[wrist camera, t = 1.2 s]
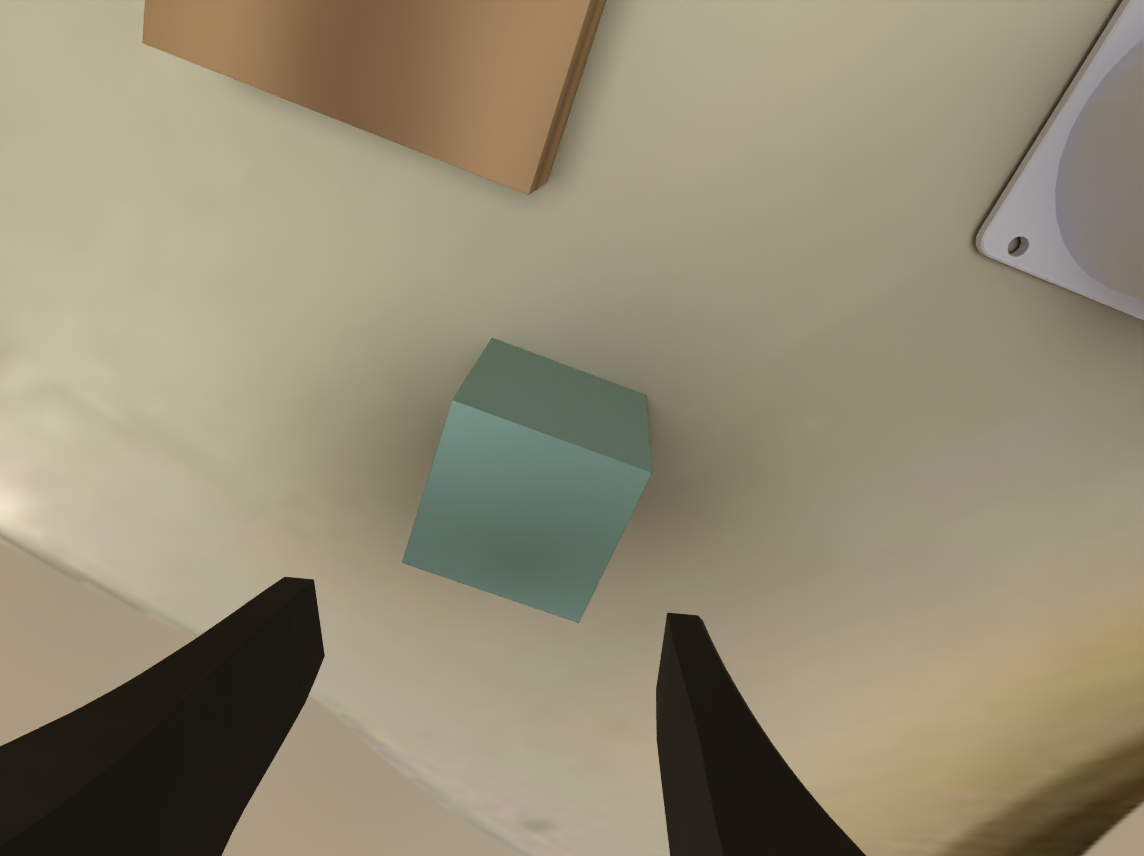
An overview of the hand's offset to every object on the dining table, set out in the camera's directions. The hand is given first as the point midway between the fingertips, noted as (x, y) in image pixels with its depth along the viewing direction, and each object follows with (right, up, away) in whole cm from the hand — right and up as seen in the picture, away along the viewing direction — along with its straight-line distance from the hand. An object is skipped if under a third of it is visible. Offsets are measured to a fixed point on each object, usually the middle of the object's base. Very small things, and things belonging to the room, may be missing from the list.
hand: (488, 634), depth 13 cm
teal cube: (+1, +4, +9) cm, 10 cm away
